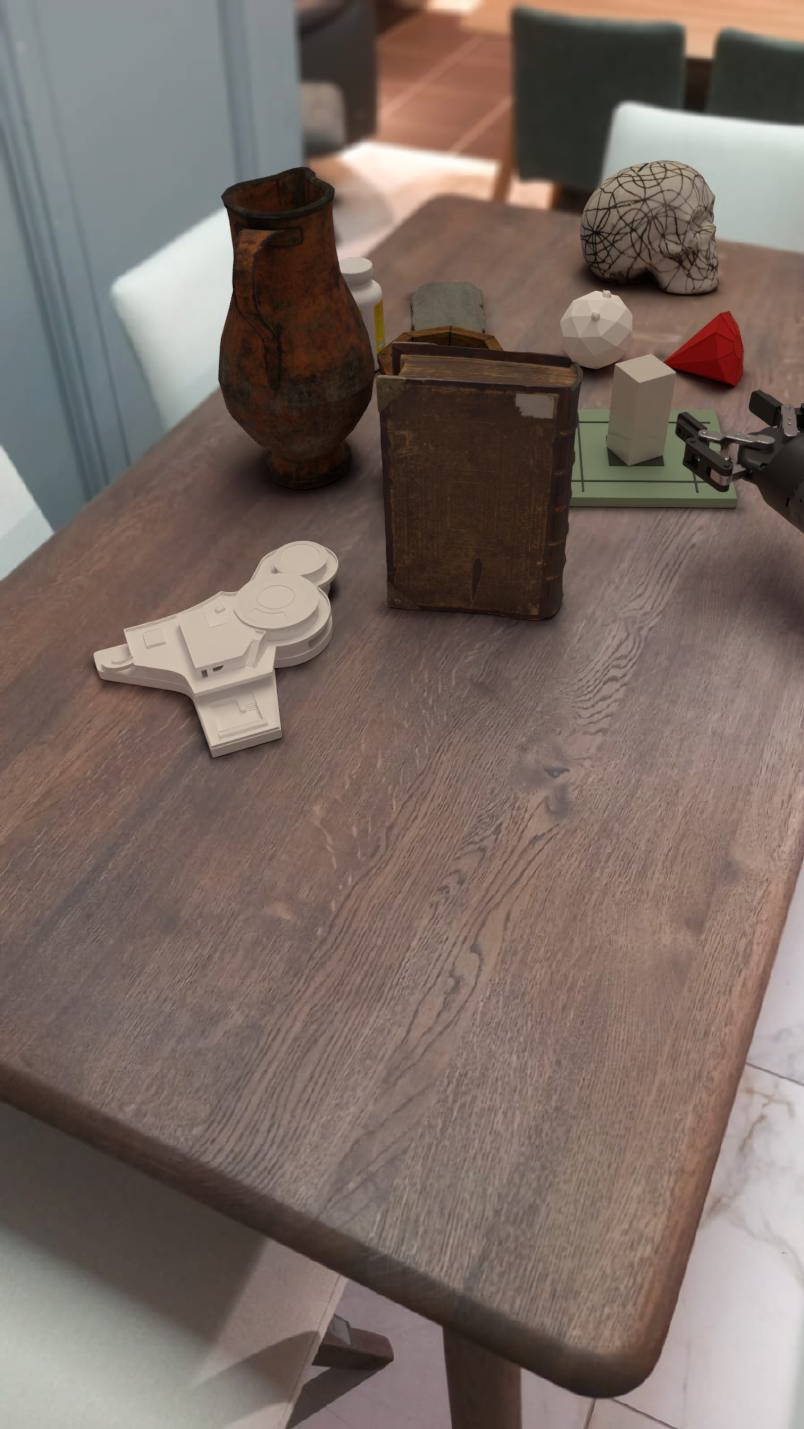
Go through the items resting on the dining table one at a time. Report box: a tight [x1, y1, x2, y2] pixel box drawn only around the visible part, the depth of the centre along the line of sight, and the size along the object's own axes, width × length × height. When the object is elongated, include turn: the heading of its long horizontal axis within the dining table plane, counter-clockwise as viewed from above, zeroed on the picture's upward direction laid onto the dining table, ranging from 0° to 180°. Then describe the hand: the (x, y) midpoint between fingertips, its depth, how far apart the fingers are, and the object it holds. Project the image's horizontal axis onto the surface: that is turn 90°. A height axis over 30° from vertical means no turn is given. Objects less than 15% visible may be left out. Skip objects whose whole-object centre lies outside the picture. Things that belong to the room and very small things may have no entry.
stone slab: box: [410, 281, 487, 333], centre depth 146 cm, size 22×3×10 cm
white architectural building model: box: [93, 540, 340, 759], centre depth 101 cm, size 23×25×4 cm
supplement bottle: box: [338, 256, 387, 372], centre depth 136 cm, size 7×7×13 cm
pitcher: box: [217, 166, 376, 490], centre depth 113 cm, size 17×21×30 cm
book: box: [375, 342, 584, 621], centre depth 98 cm, size 17×7×25 cm, turn 73°
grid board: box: [569, 408, 738, 509], centre depth 123 cm, size 20×18×1 cm
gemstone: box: [662, 310, 745, 387], centre depth 135 cm, size 9×9×10 cm
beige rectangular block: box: [606, 353, 677, 466], centre depth 118 cm, size 5×5×10 cm
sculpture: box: [579, 159, 720, 295], centre depth 150 cm, size 15×20×15 cm
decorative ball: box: [559, 289, 634, 370], centre depth 136 cm, size 9×10×12 cm
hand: (716, 409), depth 107 cm, fingers open, 8 cm apart
